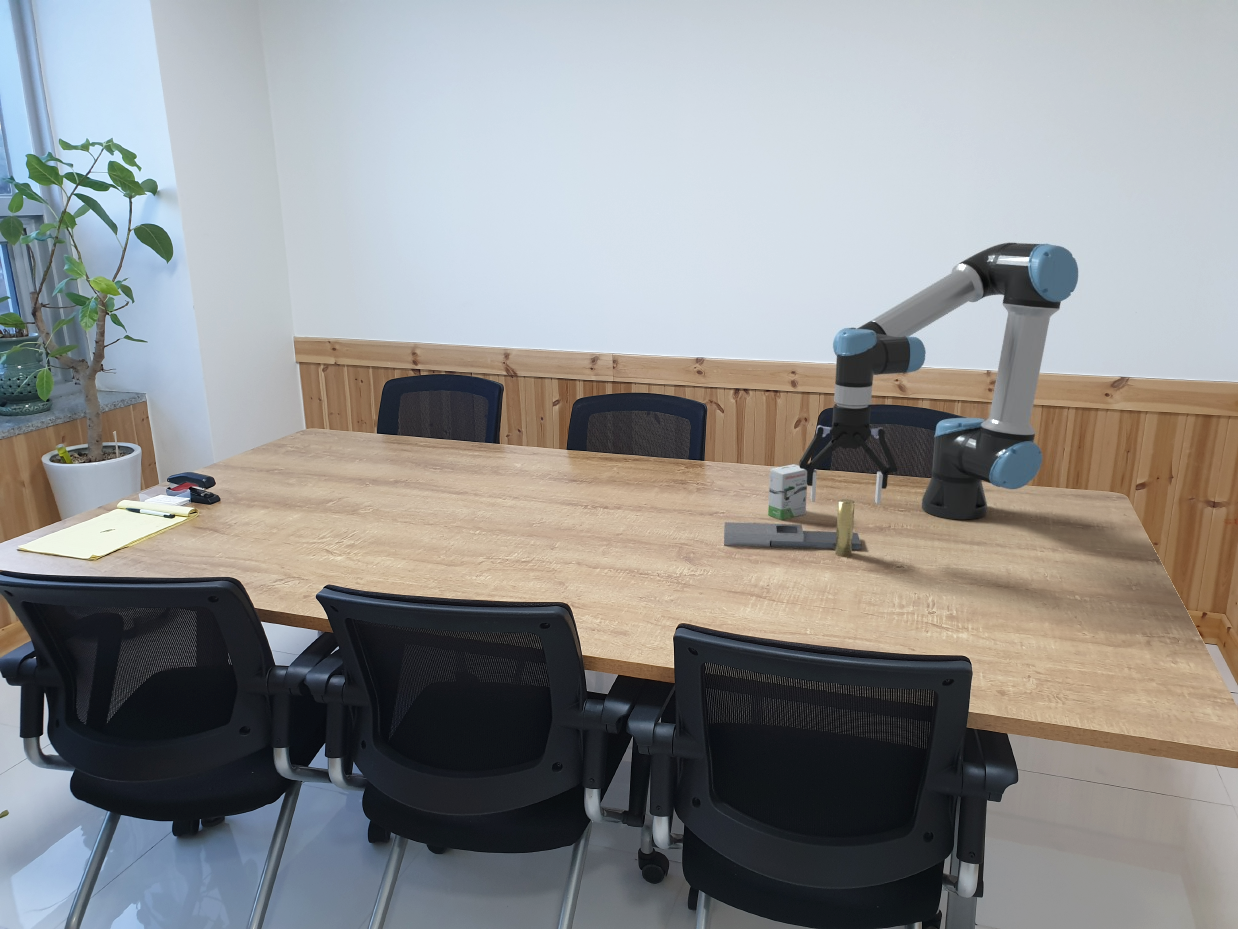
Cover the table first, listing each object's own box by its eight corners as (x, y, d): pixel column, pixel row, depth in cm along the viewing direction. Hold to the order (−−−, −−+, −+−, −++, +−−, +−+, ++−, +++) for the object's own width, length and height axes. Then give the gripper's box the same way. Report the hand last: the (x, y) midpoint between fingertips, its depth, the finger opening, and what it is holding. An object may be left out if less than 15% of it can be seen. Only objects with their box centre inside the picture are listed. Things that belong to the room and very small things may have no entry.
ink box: (781, 520, 219) (782, 473, 216) (767, 515, 223) (768, 469, 220) (807, 513, 224) (809, 467, 221) (792, 508, 228) (794, 463, 225)
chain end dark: (856, 538, 207) (857, 532, 207) (860, 550, 200) (861, 543, 200) (770, 535, 210) (770, 529, 209) (771, 546, 203) (771, 540, 203)
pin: (850, 551, 200) (853, 499, 197) (852, 556, 197) (855, 504, 193) (834, 550, 200) (837, 498, 197) (836, 556, 197) (839, 503, 194)
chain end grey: (801, 536, 209) (801, 524, 208) (803, 548, 202) (803, 535, 201) (724, 534, 211) (724, 522, 210) (723, 545, 204) (724, 532, 203)
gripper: (910, 402, 191) (901, 498, 197) (790, 399, 194) (785, 493, 200) (917, 410, 184) (907, 509, 190) (792, 406, 187) (786, 504, 193)
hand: (845, 501), depth 195 cm, fingers open, 13 cm apart
